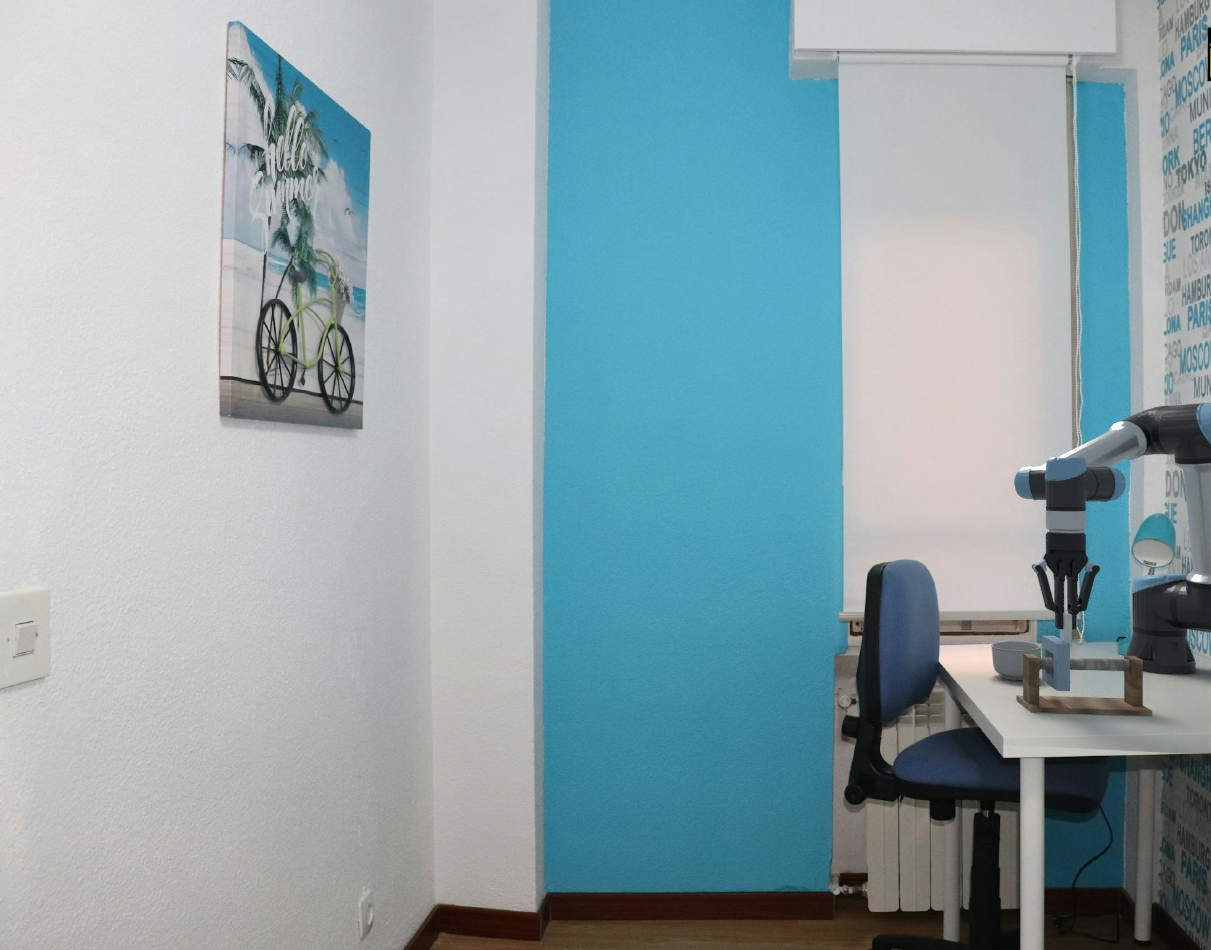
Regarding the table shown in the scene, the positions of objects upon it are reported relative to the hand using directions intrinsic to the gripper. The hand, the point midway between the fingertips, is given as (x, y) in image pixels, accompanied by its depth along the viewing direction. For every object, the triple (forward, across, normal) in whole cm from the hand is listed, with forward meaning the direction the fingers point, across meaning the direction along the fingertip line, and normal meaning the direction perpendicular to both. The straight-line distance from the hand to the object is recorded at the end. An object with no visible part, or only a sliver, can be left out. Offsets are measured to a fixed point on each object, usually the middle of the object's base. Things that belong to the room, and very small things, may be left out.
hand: (1065, 644), depth 193 cm
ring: (+9, +2, 0) cm, 9 cm away
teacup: (+13, +2, -29) cm, 32 cm away
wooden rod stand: (+13, -3, 0) cm, 13 cm away
